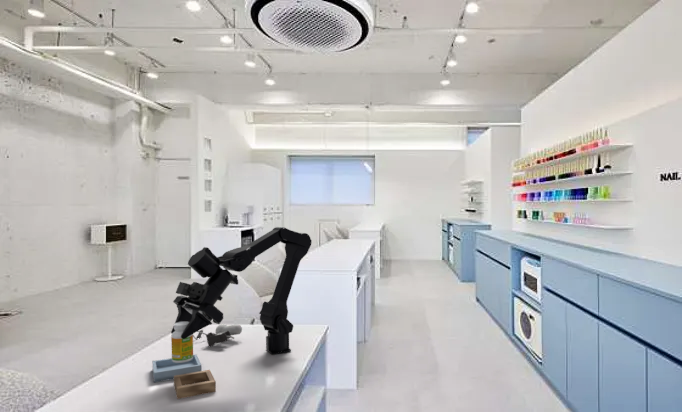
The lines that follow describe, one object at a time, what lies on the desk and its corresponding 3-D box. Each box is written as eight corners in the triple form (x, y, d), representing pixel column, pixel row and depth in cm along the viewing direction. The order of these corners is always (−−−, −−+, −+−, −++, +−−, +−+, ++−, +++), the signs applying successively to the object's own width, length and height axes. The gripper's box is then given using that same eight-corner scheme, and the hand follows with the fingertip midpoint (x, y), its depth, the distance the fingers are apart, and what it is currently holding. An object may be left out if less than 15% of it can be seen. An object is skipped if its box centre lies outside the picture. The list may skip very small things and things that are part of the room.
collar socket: (209, 378, 113) (209, 369, 113) (215, 391, 105) (215, 381, 105) (173, 385, 109) (173, 375, 109) (177, 399, 101) (177, 388, 101)
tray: (196, 362, 126) (196, 354, 126) (201, 374, 117) (201, 365, 117) (152, 369, 120) (152, 361, 120) (154, 382, 111) (154, 372, 111)
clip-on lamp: (185, 351, 145) (226, 346, 138) (180, 333, 145) (221, 327, 138) (208, 338, 156) (247, 333, 149) (204, 322, 156) (243, 315, 149)
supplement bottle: (182, 364, 109) (181, 326, 109) (167, 361, 112) (166, 325, 112) (197, 357, 114) (196, 321, 114) (182, 355, 116) (181, 319, 117)
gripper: (179, 267, 122) (140, 313, 114) (211, 273, 109) (170, 325, 101) (205, 290, 128) (170, 335, 120) (239, 298, 115) (202, 349, 107)
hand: (177, 336), depth 112 cm, fingers closed on supplement bottle, 5 cm apart
